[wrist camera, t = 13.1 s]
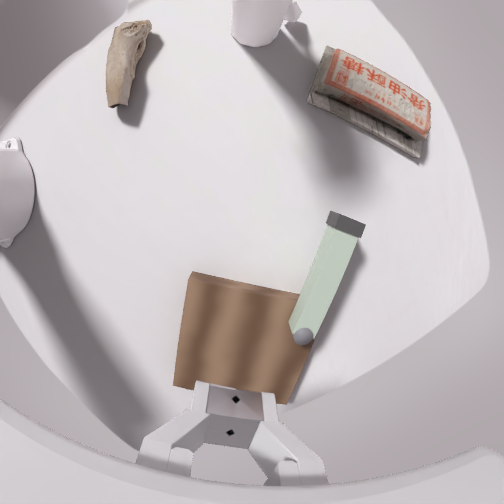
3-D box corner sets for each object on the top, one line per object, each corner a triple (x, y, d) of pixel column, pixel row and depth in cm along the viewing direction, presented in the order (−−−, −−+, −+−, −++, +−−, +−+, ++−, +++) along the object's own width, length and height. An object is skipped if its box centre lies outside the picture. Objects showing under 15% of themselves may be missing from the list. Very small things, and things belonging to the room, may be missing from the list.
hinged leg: (306, 334, 36) (312, 347, 33) (283, 328, 36) (287, 341, 32) (354, 220, 33) (365, 224, 29) (330, 210, 32) (340, 214, 29)
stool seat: (176, 373, 41) (173, 385, 38) (192, 271, 37) (188, 278, 34) (284, 392, 42) (286, 404, 39) (320, 298, 38) (326, 307, 35)
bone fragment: (119, 32, 27) (107, 19, 23) (158, 28, 28) (150, 13, 23) (99, 112, 31) (83, 105, 26) (139, 110, 31) (127, 102, 27)
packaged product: (313, 93, 27) (334, 33, 25) (304, 104, 32) (324, 48, 30) (433, 158, 29) (445, 99, 27) (414, 159, 34) (426, 105, 32)
